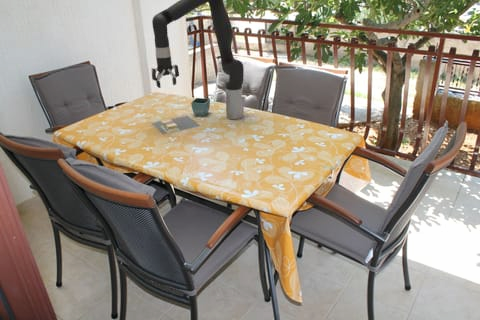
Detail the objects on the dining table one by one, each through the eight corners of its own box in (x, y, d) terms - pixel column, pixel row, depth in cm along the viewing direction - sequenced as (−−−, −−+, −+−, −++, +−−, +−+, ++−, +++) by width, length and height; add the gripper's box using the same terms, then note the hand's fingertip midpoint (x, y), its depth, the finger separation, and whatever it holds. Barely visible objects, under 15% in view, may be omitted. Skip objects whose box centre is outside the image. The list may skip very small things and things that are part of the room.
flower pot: (191, 117, 236) (190, 102, 232) (197, 112, 243) (196, 97, 239) (205, 118, 233) (204, 103, 229) (211, 113, 241) (210, 98, 237)
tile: (177, 130, 216) (177, 125, 215) (168, 132, 214) (168, 127, 212) (170, 124, 224) (170, 119, 222) (162, 126, 222) (161, 121, 220)
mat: (187, 116, 237) (187, 115, 236) (201, 126, 222) (201, 125, 222) (151, 124, 227) (150, 122, 227) (163, 135, 212) (162, 134, 212)
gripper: (152, 59, 202) (156, 90, 210) (179, 54, 209) (182, 85, 216) (147, 56, 208) (151, 86, 215) (173, 52, 214) (176, 82, 222)
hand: (166, 86), depth 216 cm, fingers open, 8 cm apart
